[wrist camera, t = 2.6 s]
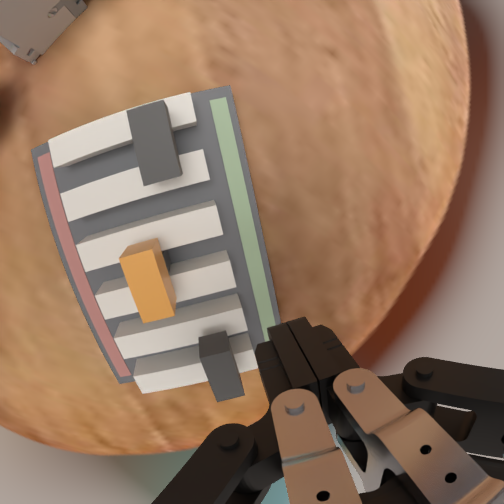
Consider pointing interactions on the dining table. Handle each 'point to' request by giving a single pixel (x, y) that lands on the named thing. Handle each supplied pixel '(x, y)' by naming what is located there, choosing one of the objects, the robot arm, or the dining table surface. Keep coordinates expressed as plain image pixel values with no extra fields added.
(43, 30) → the circuit breaker
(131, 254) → the handle
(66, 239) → the breaker panel
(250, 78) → the dining table surface
